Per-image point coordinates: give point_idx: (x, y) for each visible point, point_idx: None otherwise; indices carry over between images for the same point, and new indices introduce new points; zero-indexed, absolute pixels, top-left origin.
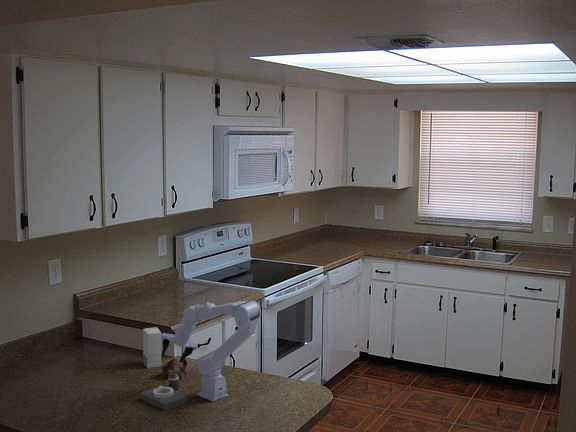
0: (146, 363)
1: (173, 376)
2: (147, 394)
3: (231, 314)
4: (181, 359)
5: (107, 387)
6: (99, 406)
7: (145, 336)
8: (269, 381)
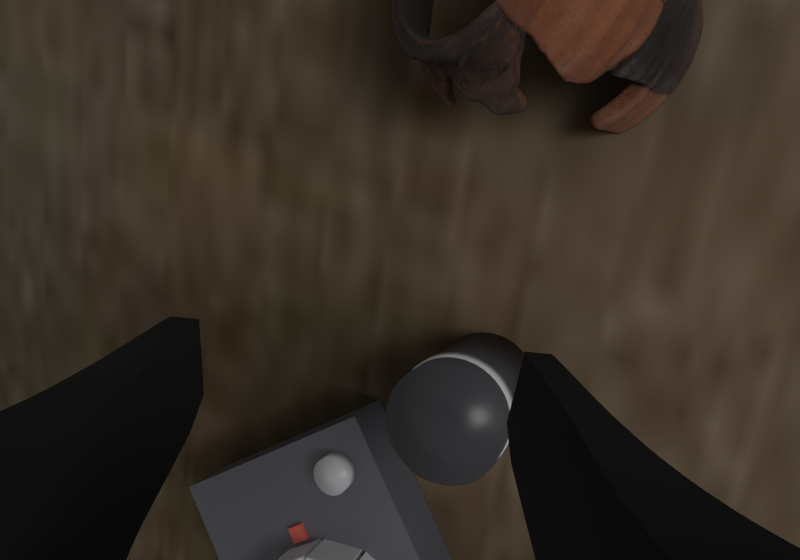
0: None
1: (434, 480)
2: (231, 553)
3: None
4: (521, 487)
5: (58, 155)
6: None
7: None
8: None
